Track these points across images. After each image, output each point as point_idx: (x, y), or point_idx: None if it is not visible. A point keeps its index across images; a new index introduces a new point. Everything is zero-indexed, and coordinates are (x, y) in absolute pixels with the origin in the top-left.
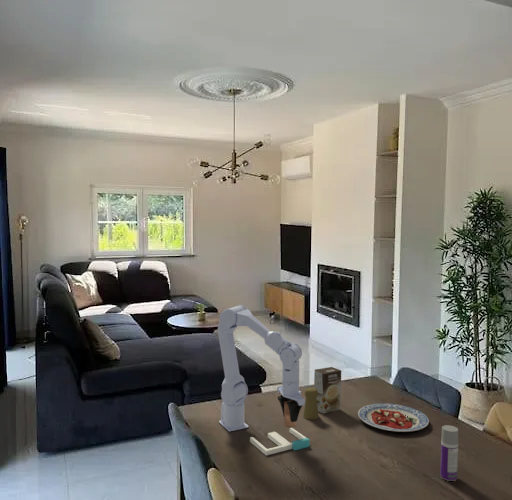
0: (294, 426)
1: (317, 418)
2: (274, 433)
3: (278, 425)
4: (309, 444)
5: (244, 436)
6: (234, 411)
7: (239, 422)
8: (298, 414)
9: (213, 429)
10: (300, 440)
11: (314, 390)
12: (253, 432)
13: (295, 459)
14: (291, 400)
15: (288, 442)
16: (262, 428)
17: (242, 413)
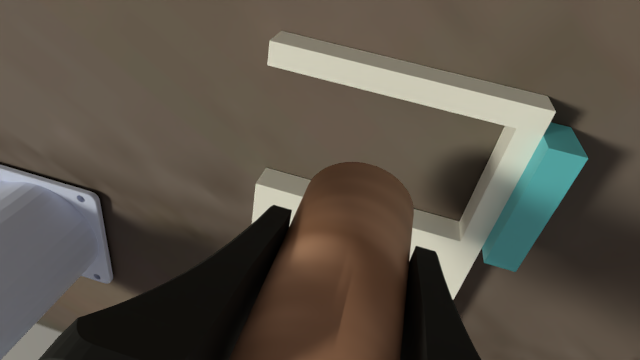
0: (413, 216)
1: None
2: (277, 205)
3: (134, 26)
4: (575, 135)
5: (186, 269)
6: (21, 337)
7: (76, 262)
8: (455, 310)
9: (65, 295)
10: (529, 221)
11: None
12: (164, 214)
13: (583, 303)
14: (208, 338)
15: (442, 243)
16: (136, 145)
17: (26, 279)
